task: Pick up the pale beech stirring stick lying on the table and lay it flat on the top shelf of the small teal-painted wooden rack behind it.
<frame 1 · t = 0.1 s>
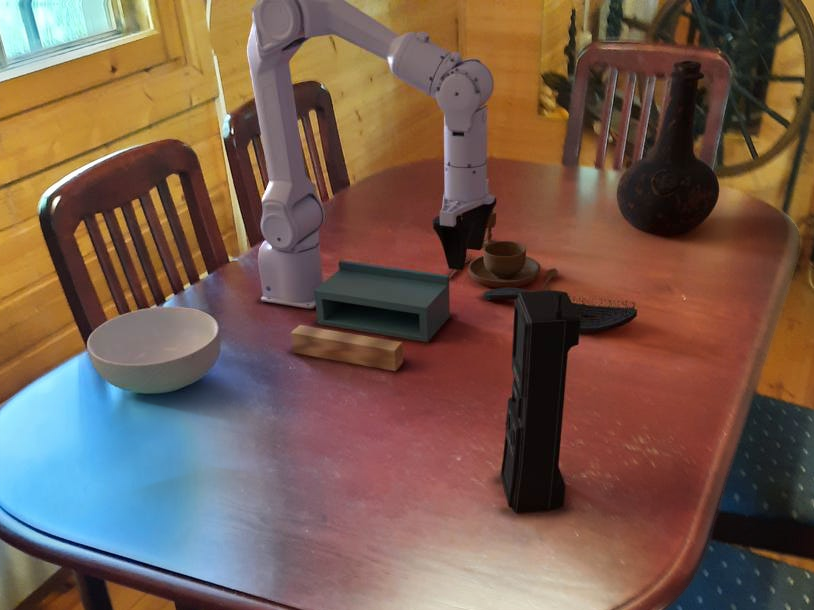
hand: (465, 258, 123), 10 cm above the table, tool pointing down, fingers open, 7 cm apart
stick: (347, 357, 121), on the table
shelf: (384, 320, 130), on the table
cereal bowl: (164, 380, 117), on the table
glass bottle: (662, 228, 159), on the table
hairbrush: (555, 315, 131), on the table
place setting: (510, 268, 145), on the table
portable radio: (529, 492, 95), on the table
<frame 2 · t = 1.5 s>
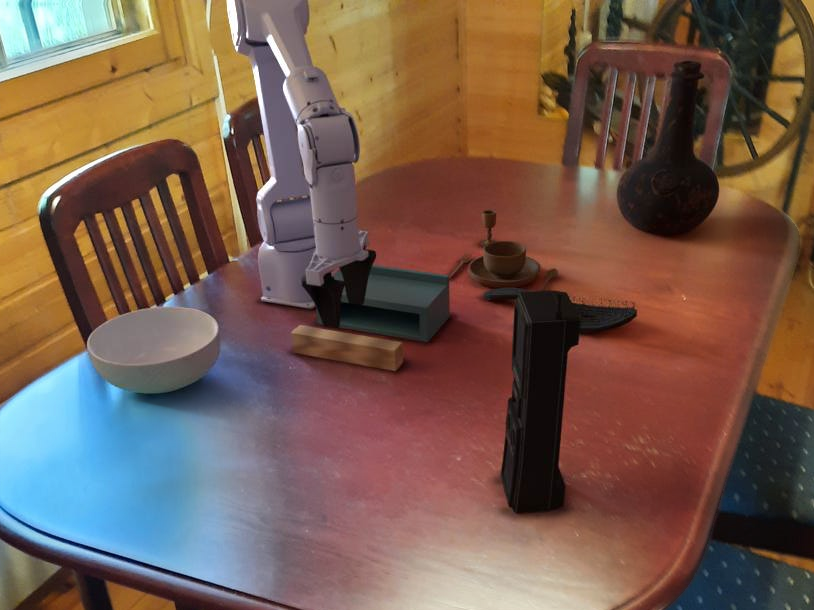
hand: (344, 314, 117), 7 cm above the table, tool pointing down, fingers open, 7 cm apart
nothing on the table moved.
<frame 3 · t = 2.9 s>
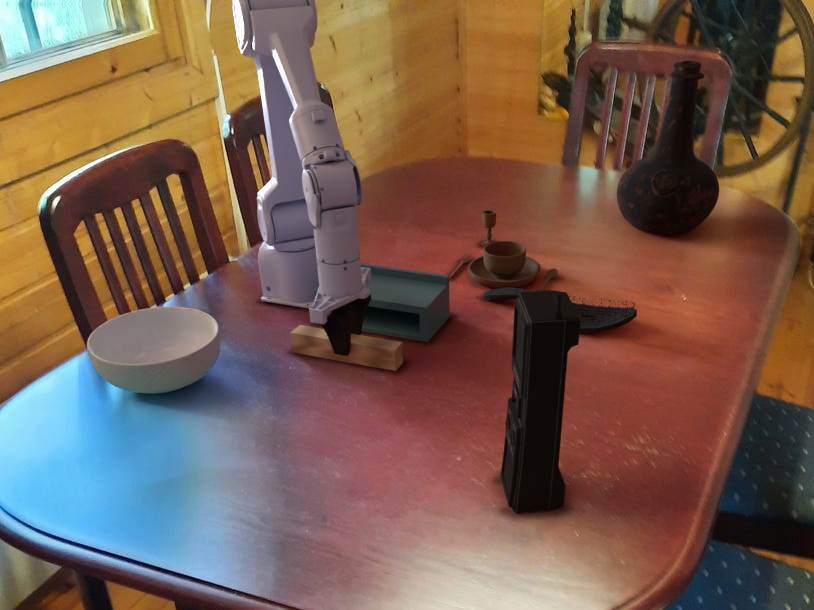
hand: (346, 348, 120), 1 cm above the table, tool pointing down, fingers closed on stick, 2 cm apart
stick: (347, 357, 121), on the table, touching gripper
everything else where it was.
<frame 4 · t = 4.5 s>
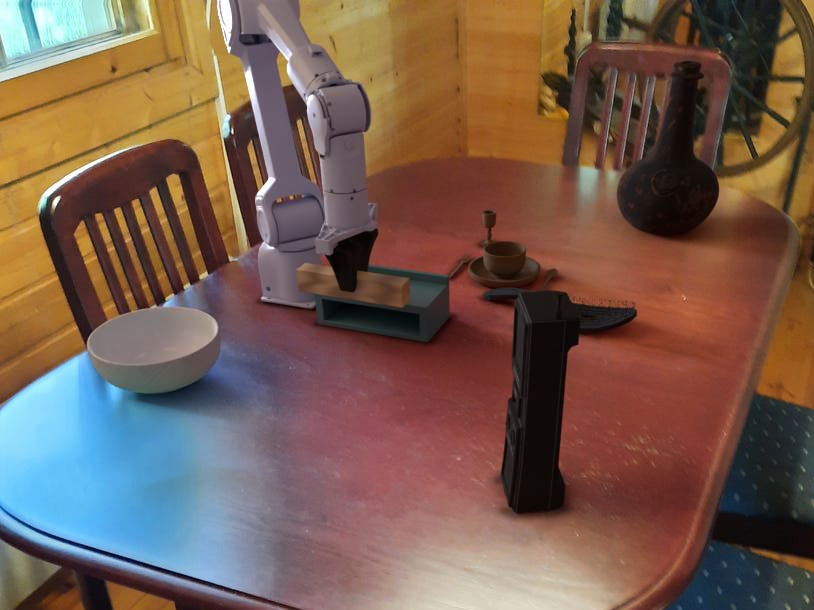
hand: (352, 286, 118), 9 cm above the table, tool pointing down, fingers closed on stick, 2 cm apart
stick: (353, 295, 119), point 8 cm above the table, touching gripper
everything else where it was.
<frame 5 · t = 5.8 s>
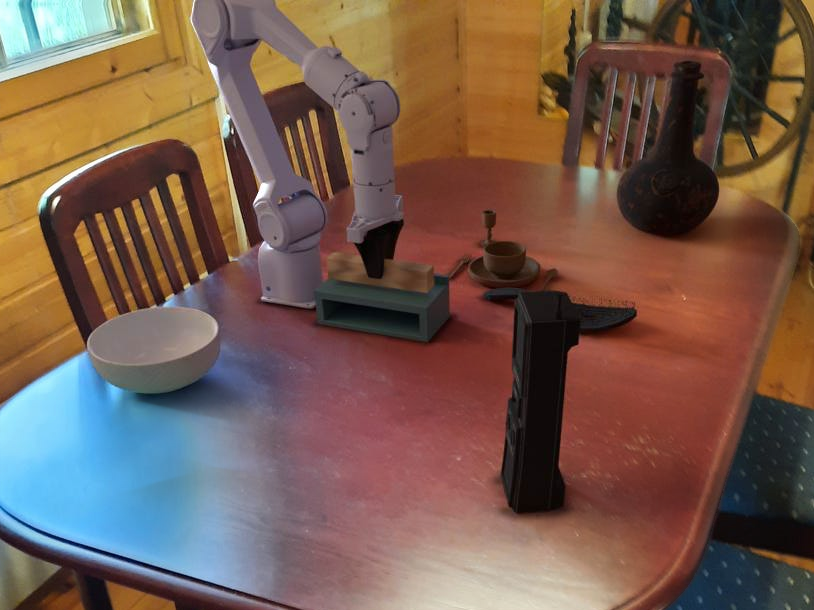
hand: (379, 273, 125), 8 cm above the table, tool pointing down, fingers closed on stick, 2 cm apart
stick: (380, 282, 126), point 6 cm above the table, touching gripper
everything else where it was.
when the fingers open (7 cm above the table, at t = 6.3 s): stick stays where it is, resting on shelf.
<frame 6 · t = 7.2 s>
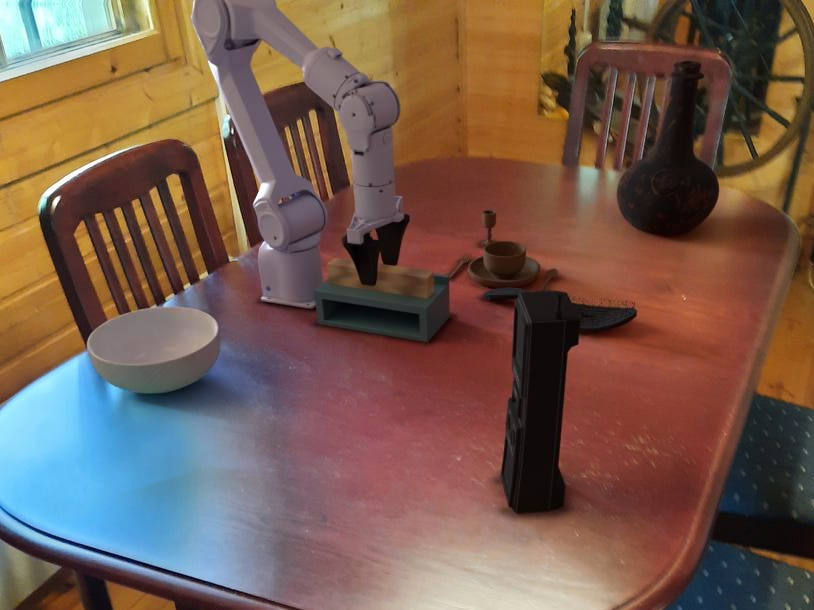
hand: (379, 274, 125), 8 cm above the table, tool pointing down, fingers open, 7 cm apart
stick: (380, 287, 126), point 5 cm above the table, touching shelf
everything else where it was.
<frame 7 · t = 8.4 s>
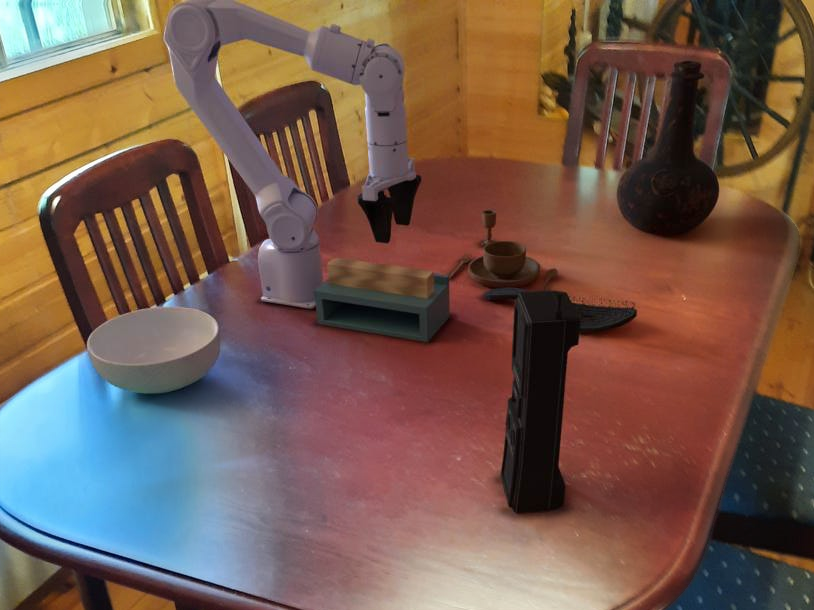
hand: (392, 233, 131), 10 cm above the table, tool pointing down, fingers open, 7 cm apart
nothing on the table moved.
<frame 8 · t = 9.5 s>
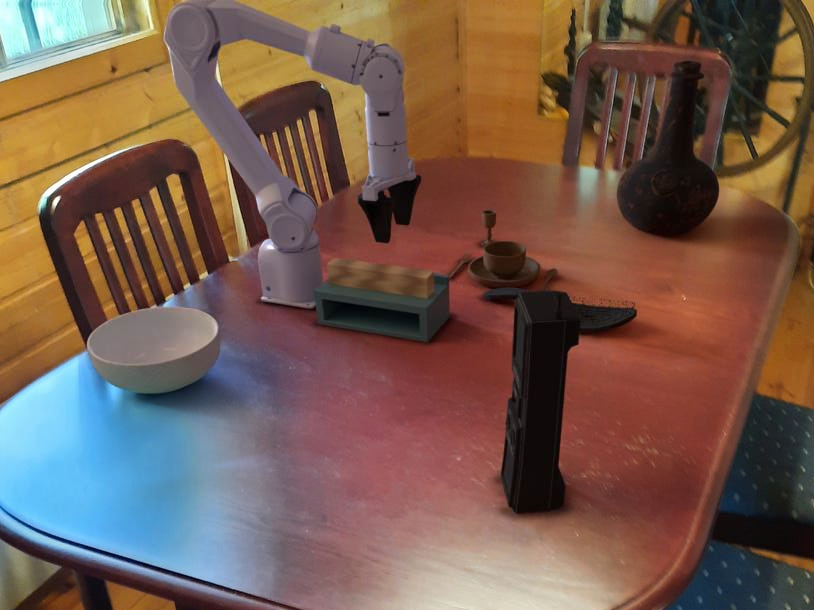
hand: (392, 233, 131), 10 cm above the table, tool pointing down, fingers open, 7 cm apart
nothing on the table moved.
at the end: stick inside the target area (0.3 cm from its centre), point 5.5 cm above the table; stick tilted 0°; the gripper is holding nothing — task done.
